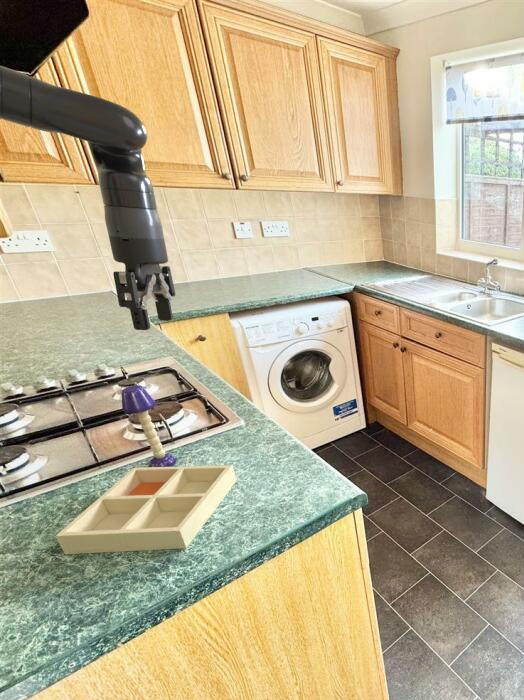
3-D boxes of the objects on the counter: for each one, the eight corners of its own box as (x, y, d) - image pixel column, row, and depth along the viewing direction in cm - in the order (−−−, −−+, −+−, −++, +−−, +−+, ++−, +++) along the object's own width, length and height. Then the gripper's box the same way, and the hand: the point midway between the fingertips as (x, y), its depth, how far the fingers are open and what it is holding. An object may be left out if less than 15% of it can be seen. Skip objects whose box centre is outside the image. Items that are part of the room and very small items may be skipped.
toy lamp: (148, 475, 78) (118, 396, 71) (143, 464, 81) (113, 387, 74) (179, 464, 82) (153, 388, 75) (173, 454, 85) (147, 380, 78)
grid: (64, 554, 62) (55, 536, 60) (140, 483, 76) (133, 467, 75) (186, 548, 64) (179, 530, 62) (236, 480, 79) (232, 465, 77)
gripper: (134, 232, 80) (151, 317, 85) (83, 233, 67) (107, 332, 72) (180, 236, 82) (194, 318, 87) (139, 237, 69) (159, 333, 74)
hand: (154, 324), depth 80 cm, fingers open, 8 cm apart
